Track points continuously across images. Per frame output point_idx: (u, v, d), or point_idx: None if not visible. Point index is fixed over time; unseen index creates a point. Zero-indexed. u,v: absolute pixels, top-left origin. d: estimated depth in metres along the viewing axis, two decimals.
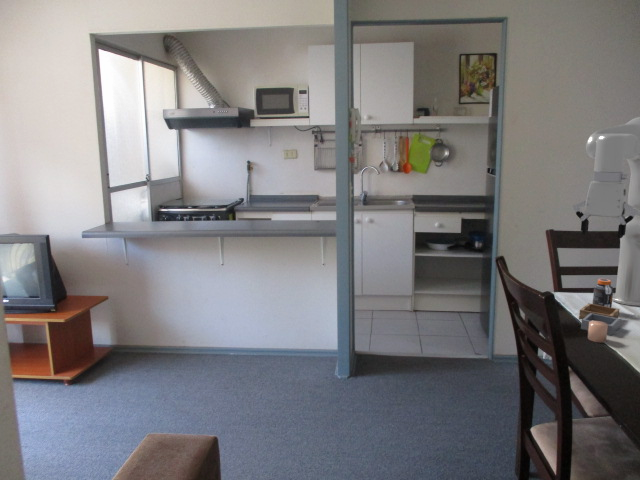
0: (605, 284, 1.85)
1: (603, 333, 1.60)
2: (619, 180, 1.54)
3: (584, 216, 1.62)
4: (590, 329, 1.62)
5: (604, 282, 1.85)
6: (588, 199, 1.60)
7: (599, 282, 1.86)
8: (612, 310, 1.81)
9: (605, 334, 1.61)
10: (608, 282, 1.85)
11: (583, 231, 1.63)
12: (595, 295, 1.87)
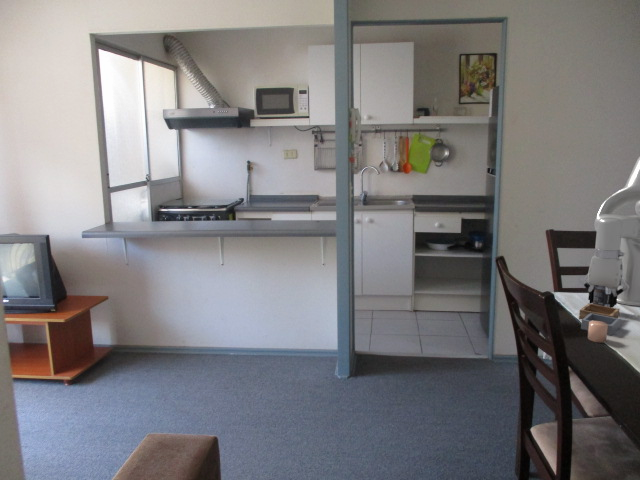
0: None
1: (603, 333, 1.60)
2: (616, 257, 1.81)
3: (590, 287, 1.88)
4: (590, 329, 1.62)
5: None
6: (590, 271, 1.87)
7: None
8: (612, 310, 1.81)
9: (605, 334, 1.61)
10: None
11: (590, 301, 1.89)
12: (595, 295, 1.87)
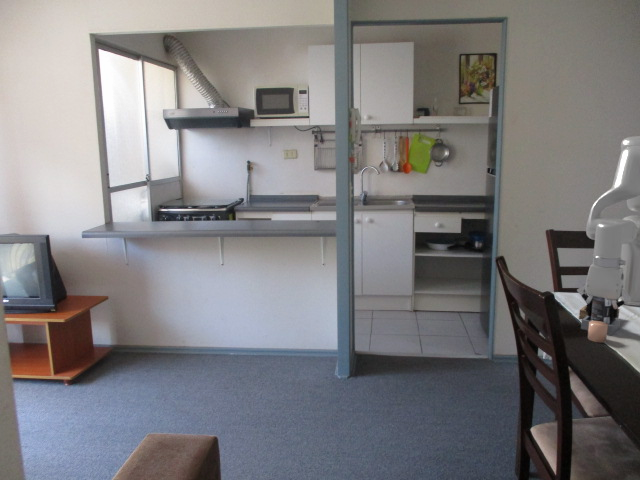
0: None
1: (603, 333, 1.60)
2: (617, 266, 1.65)
3: (588, 299, 1.72)
4: (590, 329, 1.62)
5: None
6: (588, 281, 1.70)
7: None
8: None
9: (605, 334, 1.61)
10: None
11: (588, 313, 1.73)
12: (594, 307, 1.70)
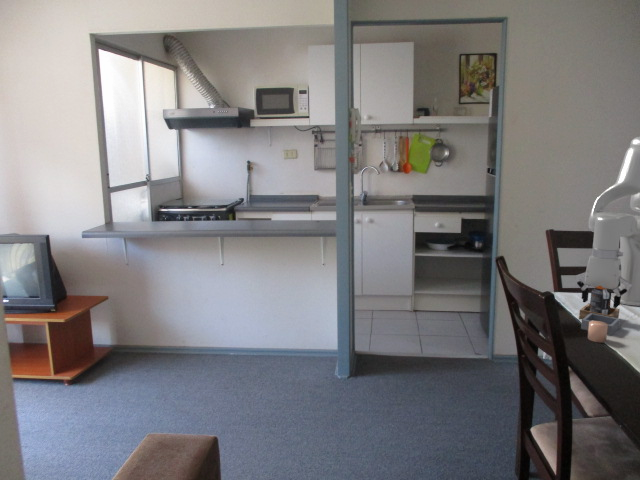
0: (603, 288, 1.77)
1: (603, 333, 1.60)
2: (615, 257, 1.73)
3: (584, 286, 1.81)
4: (590, 329, 1.62)
5: None
6: (587, 271, 1.79)
7: None
8: (612, 310, 1.81)
9: (605, 334, 1.61)
10: None
11: (583, 299, 1.82)
12: (592, 300, 1.79)
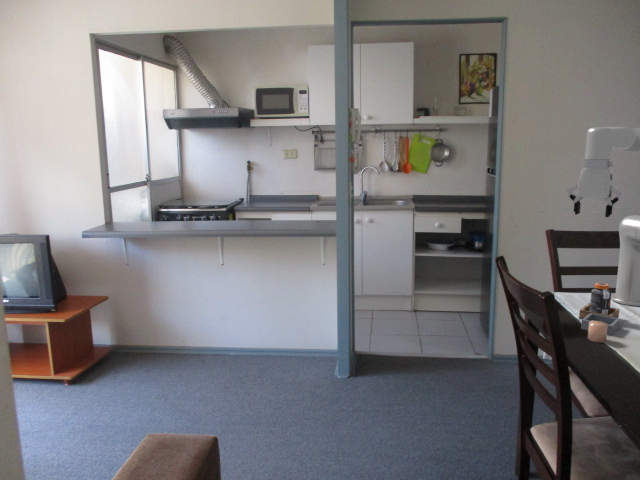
0: (603, 288, 1.77)
1: (603, 333, 1.60)
2: (606, 167, 1.78)
3: (576, 198, 1.86)
4: (590, 329, 1.62)
5: (602, 286, 1.77)
6: (580, 183, 1.84)
7: (597, 286, 1.78)
8: (612, 310, 1.81)
9: (605, 334, 1.61)
10: (606, 286, 1.77)
11: (575, 211, 1.87)
12: (592, 300, 1.79)
